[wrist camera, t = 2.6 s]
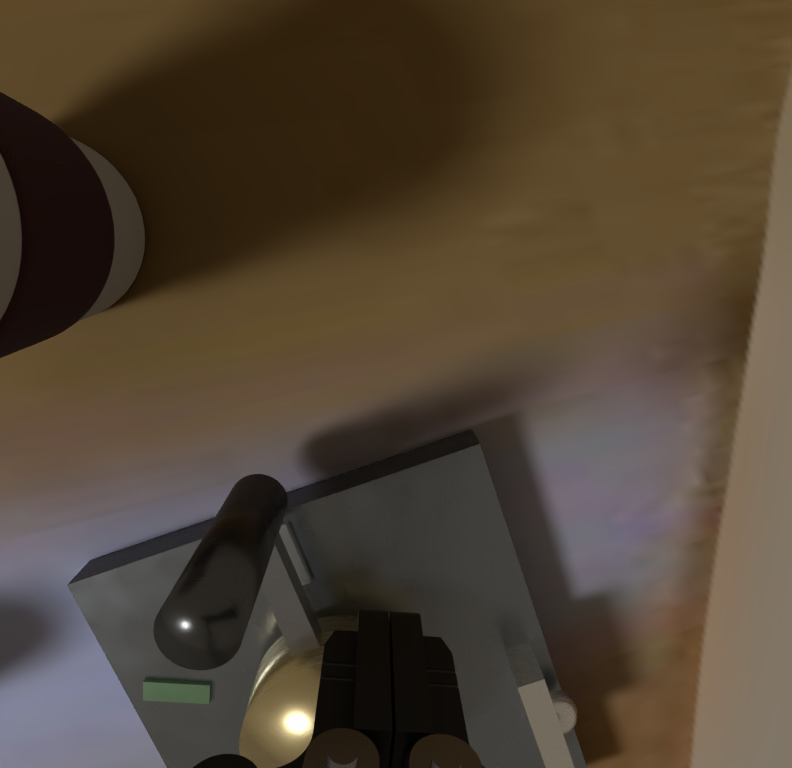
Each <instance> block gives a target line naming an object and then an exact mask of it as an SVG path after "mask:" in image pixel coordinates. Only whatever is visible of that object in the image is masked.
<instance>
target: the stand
mask: <svg viewBox="0 0 792 768" xmlns="http://www.w3.org/2000/svg"><path fill="white" fill-rule="evenodd" d="M286 494H287V498H288V506H287V510H286V513H285V516H284V519H283V522H282V525H281V528H280V531H279V533H280V536H281V538H282V540H283V542H284V545H285V547H286V549H287V552H288V554H289V556H290V559H291V561H292V563H293V565H294V568H295V570H296V572H297V575H298V577H299V579H300V581H301V584H302V586H303V588H304V591H305V593H306V595H307V597H308V600H309V602H310V604H311V607H312V609H313V611H314V613H315V616H316V618H320V617H325V616H332V615H354V616H358V611H359V609H364V610H378V611H388V614H390V611H393V612H407V613H420V616H421V624H422V632H423V636H432V637H441V638H442V640H443V641H444V642H445V644H446V645H447V647H448V648H449V649H450V651H451V652H452V655H453V660H454V666H455V674H456V676H457V682H458V688H459V692H460V698H461V703H462V708H463V714H464V719H465V724H466V730H467V735H468V740H469V744H470V746H471V747H472V748H473V750H474V751H475V752H476V753H477V755H478V757H479V758H480V761H481V764H482V765H483V766H484V767H485V768H587V766H586V763H585V760H584V757H583V754H582V751H581V748H580V745H579V742H578V739H577V736H576V733H575V729H574V727H575V725H576V722H577V709H576V706H575V703H574V702H573V700H572V699H571V697H570V696H569V695H567V694H566V693H564V692H563V691H562V690H561V687H560V684H559V681H558V678H557V675H556V672H555V669H554V666H553V663H552V660H551V657H550V654H549V651H548V648H547V645H546V642H545V639H544V636H543V633H542V630H541V627H540V624H539V621H538V618H537V615H536V612H535V609H534V605H533V602H532V599H531V596H530V593H529V590H528V587H527V584H526V581H525V578H524V575H523V572H522V569H521V566H520V563H519V560H518V557H517V554H516V551H515V548H514V545H513V542H512V539H511V536H510V533H509V530H508V527H507V524H506V521H505V518H504V515H503V512H502V509H501V506H500V503H499V500H498V497H497V494H496V491H495V488H494V484H493V481H492V478H491V475H490V472H489V469H488V466H487V463H486V460H485V457H484V454H483V451H482V448H481V445H480V443H479V441H478V439H477V437H476V436H475V434H474V432H473V430H469V431H466V432H464V433H461V434H458V435H455V436H452V437H449V438H446V439H443V440H440V441H437V442H434V443H431V444H429V445H426V446H423V447H420V448H417V449H414V450H411V451H408V452H405V453H402V454H399V455H397V456H394V457H391V458H388V459H385V460H382V461H379V462H376V463H373V464H370V465H367V466H364V467H362V468H359V469H356V470H353V471H350V472H347V473H344V474H341V475H338V476H335V477H332V478H329V479H327V480H324V481H321V482H318V483H315V484H312V485H309V486H306V487H303V488H300V489H297V490H294V491H292V492H289V493H286ZM214 519H215V518H213V519H210V520H207V521H204V522H201V523H198V524H195V525H192V526H190V527H187V528H184V529H181V530H178V531H175V532H172V533H169V534H166V535H163V536H160V537H157V538H155V539H152V540H149V541H146V542H143V543H140V544H137V545H134V546H131V547H128V548H125V549H123V550H120V551H117V552H114V553H111V554H108V555H105V556H102V557H99V558H96V559H93V560H90V561H89V562H88V563H87V564H86V565H85V566H84V567H83V568H82V569H81V571H80V572H79V573H78V574H77V575H76V576H75V577H74V578H73V579H72V580H71V581H70V582H69V584H68V585H67V586H68V587H69V589H70V591H71V593H72V595H73V597H74V598H75V600H76V602H77V604H78V606H79V608H80V609H81V611H82V613H83V615H84V617H85V618H86V620H87V622H88V624H89V626H90V628H91V629H92V631H93V633H94V635H95V637H96V639H97V640H98V642H99V644H100V646H101V648H102V650H103V651H104V653H105V655H106V657H107V659H108V660H109V662H110V664H111V666H112V668H113V670H114V671H115V673H116V675H117V677H118V679H119V681H120V682H121V684H122V686H123V688H124V690H125V692H126V693H127V695H128V697H129V699H130V701H131V702H132V704H133V706H134V708H135V710H136V712H137V713H138V715H139V717H140V719H141V721H142V723H143V724H144V726H145V728H146V730H147V732H148V734H149V735H150V737H151V739H152V741H153V743H154V744H155V746H156V748H157V750H158V752H159V754H160V755H161V757H162V759H163V761H164V763H165V765H166V766H167V768H193V767H194V766H195V765H197V764H198V763H200V762H201V761H203V760H205V759H207V758H209V757H212V756H215V755H220V754H237V755H240V753H239V739H240V733H241V728H242V724H243V721H244V717H245V714H246V710H247V706H248V703H249V699H250V696H251V692H252V688H253V685H254V681H255V678H256V674H257V671H258V668H259V666H260V663H261V661H262V659H263V657H264V656H265V654H266V652H267V651H268V650H269V649H270V647H271V646H272V645H273V644H274V643H275V642H276V641H277V640H278V639H279V638H280V637H281V636H282V633H281V630H280V628H279V626H278V624H277V622H276V619H275V617H274V615H273V613H272V611H271V609H270V606H269V604H268V602H267V600H266V598H265V595H264V593H263V591H262V589H261V587H260V590H259V593H258V596H257V599H256V602H255V605H254V608H253V611H252V614H251V616H250V619H249V622H248V625H247V628H246V631H245V634H244V637H243V640H242V643H241V646H240V648H239V650H238V652H237V653H236V654H235V656H234V657H233V658H232V659H231V660H230V661H228V662H227V663H225V664H224V665H222V666H220V667H217V668H214V669H210V670H191V669H186V668H183V667H180V666H178V665H176V664H174V663H173V662H171V661H170V660H169V659H167V658H166V657H165V656H164V655H163V654H162V652H161V651H160V650H159V648H158V646H157V644H156V642H155V638H154V633H153V627H154V621H155V618H156V616H157V614H158V612H159V611H160V609H161V607H162V606H163V604H164V602H165V600H166V599H167V597H168V595H169V594H170V592H171V590H172V589H173V587H174V585H175V584H176V582H177V580H178V579H179V577H180V575H181V574H182V572H183V570H184V569H185V567H186V565H187V564H188V562H189V560H190V559H191V557H192V555H193V554H194V552H195V550H196V549H197V547H198V545H199V544H200V542H201V540H202V539H203V537H204V535H205V534H206V532H207V530H208V529H209V527H210V525H211V524H212V522H213V520H214Z"/></svg>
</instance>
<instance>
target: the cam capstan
mask: <svg viewBox="0 0 792 768" xmlns="http://www.w3.org/2000/svg"><path fill="white" fill-rule="evenodd" d="M287 506H288V498H287V494H286V491H285V489H284V488H283V486H282V485H281V484H280V483H279V482H278V481H277V480H275V479H274V478H272V477H270V476H267V475H263V474H253V475H249V476H246V477H244V478H242V479H241V480H239V481H238V482H237V483H236V484H235V485H234V487H233V488H232V490H231V492H230V494H229V495H228V497H227V499H226V500H225V502H224V504H223V505H222V507H221V509H220V510H219V512H218V514H217V515H216V517H215V519H214V520H213V522H212V524H211V525H210V527H209V529H208V530H207V532H206V534H205V535H204V537H203V539H202V540H201V542H200V544H199V545H198V547H197V549H196V550H195V552H194V554H193V555H192V557H191V559H190V560H189V562H188V564H187V565H186V567H185V569H184V570H183V572H182V574H181V575H180V577H179V579H178V580H177V582H176V584H175V585H174V587H173V589H172V590H171V592H170V594H169V595H168V597H167V599H166V600H165V602H164V604H163V606H162V607H161V609H160V611H159V612H158V614H157V616H156V618H155V621H154V627H153V633H154V638H155V642H156V644H157V646H158V648H159V650H160V651H161V652H162V654H163V655H164V656H165V657H166V658H167V659H169V660H170V661H171V662H173V663H174V664H176V665H178V666H180V667H183V668H186V669H191V670H210V669H214V668H217V667H220V666H222V665H224V664H225V663H227V662H228V661H230V660H231V659H232V658H233V657H234V656H235V654H236V653H237V652H238V650H239V648H240V646H241V643H242V640H243V637H244V634H245V631H246V628H247V625H248V622H249V619H250V616H251V614H252V611H253V608H254V605H255V602H256V599H257V596H258V593H259V590H260V587H261V589H262V591H263V593H264V595H265V598H266V600H267V602H268V604H269V606H270V609H271V611H272V613H273V615H274V617H275V619H276V622H277V624H278V626H279V628H280V630H281V633H282V636H281V637H280V638H279V639H278V640H277V641H276V642H275V643H274V644H273V645H272V646H271V647H270V649H269V650H268V651H267V652H266V654H265V656H264V657H263V659H262V661H261V663H260V666H259V668H258V671H257V674H256V678H255V681H254V685H253V688H252V692H251V696H250V699H249V703H248V706H247V710H246V714H245V717H244V721H243V724H242V728H241V733H240V739H239V753H240V756H243V757H245V758H248V759H249V760H250V761H252V762H253V763H254V764H255V765H256V766H257V768H277V767H281V766H284V765H286V764H288V763H290V762H292V761H293V760H295V759H296V758H297V757H299V756H300V755H301V754H302V753H303V752H304V751H305V749H306V748H307V747H308V745H309V743H310V741H311V739H312V735H313V729H314V721H315V713H316V706H317V698H318V690H319V683H320V675H321V667H322V660H323V652H324V644H325V643H326V642H327V640H328V639H329V638H330V636H331V635H332V634H333V632H334V631H335V630H343V631H356V629H357V620H358V616H354V615H332V616H325V617H320V618H316V616H315V613H314V611H313V609H312V607H311V604H310V602H309V600H308V597H307V595H306V593H305V591H304V588H303V586H302V584H301V581H300V579H299V577H298V575H297V572H296V570H295V568H294V565H293V563H292V561H291V559H290V556H289V554H288V552H287V549H286V547H285V545H284V542H283V540H282V538H281V536H280V533H279V531H280V528H281V525H282V522H283V519H284V516H285V513H286V510H287Z"/></svg>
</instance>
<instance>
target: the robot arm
mask: <svg viewBox="0 0 792 768" xmlns="http://www.w3.org/2000/svg"><path fill="white" fill-rule="evenodd" d="M193 768H257V766H256V765H255V764H254V763H253V762H252V761H250V760H249V759H248V758H245V757H243V756H240V755H237V754H220V755H215V756H212V757H209V758H207V759H205V760H203V761H201V762H200V763H198V764H197V765H195V766H194V767H193ZM277 768H485V767H484V766H483V765H482V764H481V761H480V758H479V757H478V755H477V753H476V752H475V751H474V750H473V748H472V747H471V746H470V744H469V740H468V735H467V730H466V724H465V719H464V714H463V708H462V703H461V698H460V692H459V688H458V682H457V676H456V674H455V666H454V660H453V655H452V652H451V651H450V649H449V648H448V647H447V645H446V644H445V642H444V641H443V640H442V638H441V637H432V636H423V632H422V624H421V616H420V613H407V612H393V611H390V614H388V611H378V610H364V609H359V611H358V620H357V629H356V631H343V630H335V631H334V632H333V634H332V635H331V636H330V638H329V639H328V640H327V642H326V643H325V644H324V652H323V660H322V667H321V675H320V683H319V690H318V698H317V706H316V713H315V721H314V729H313V735H312V739H311V741H310V743H309V745H308V747H307V748H306V749H305V751H304V752H303V753H302V754H301V755H300V756H299V757H297V758H296V759H295V760H293V761H292V762H290V763H288V764H286V765H284V766H281V767H277Z"/></svg>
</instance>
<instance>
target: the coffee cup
mask: <svg viewBox="0 0 792 768" xmlns="http://www.w3.org/2000/svg"><path fill="white" fill-rule="evenodd" d="M144 249H145V229H144V223H143V218H142V214H141V211H140V208H139V205H138V203H137V200H136V197H135V196H134V194H133V192H132V190H131V189H130V187H129V185H128V183H127V182H126V180H125V179H124V178H123V177H122V175H121V174H120V173H119V172H118V171H117V169H116V168H115V167H114V166H113V165H112V164H111V163H110V162H108V161H107V160H106V159H105V158H104V157H103V156H102V155H100V154H99V153H97V152H96V151H95V150H93V149H91V148H90V147H88V146H86V145H84V144H83V143H81V142H79V141H77V140H75V139H73V138H71V137H69V136H67V135H66V134H65V133H64V132H63V131H62V130H61V129H60V128H58V127H57V126H56V125H55V124H53V123H52V122H50V121H49V120H48V119H46V118H45V117H43V116H42V115H40V114H39V113H37V112H35V111H34V110H32V109H30V108H28V107H26V106H25V105H23V104H21V103H19V102H17V101H16V100H14V99H12V98H10V97H8V96H7V95H5V94H3V93H1V92H0V358H1V357H4V356H6V355H9V354H11V353H14V352H16V351H19V350H21V349H24V348H26V347H29V346H32V345H34V344H37V343H39V342H42V341H44V340H47V339H49V338H51V337H53V336H55V335H57V334H59V333H61V332H63V331H65V330H66V329H68V328H69V327H70V326H72V325H73V324H75V323H76V322H77V321H79V320H82V319H84V318H87V317H90V316H92V315H95V314H97V313H100V312H102V311H104V310H105V309H107V308H109V307H110V306H111V305H113V304H114V303H115V302H117V301H118V300H119V299H120V298H121V297H122V296H123V295H124V294H125V293H126V292H127V290H128V289H129V287H130V286H131V284H132V283H133V282H134V280H135V279H136V276H137V274H138V271H139V269H140V267H141V264H142V260H143V255H144Z"/></svg>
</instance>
